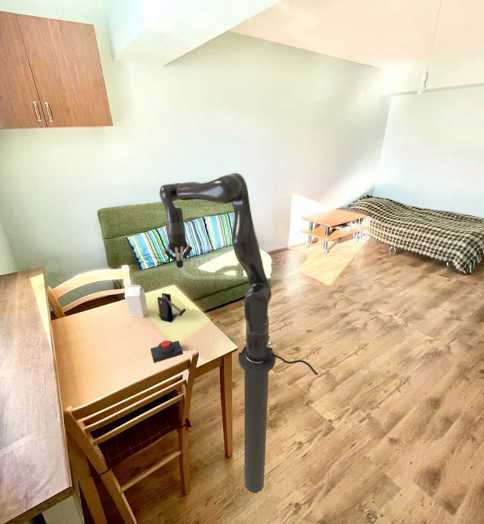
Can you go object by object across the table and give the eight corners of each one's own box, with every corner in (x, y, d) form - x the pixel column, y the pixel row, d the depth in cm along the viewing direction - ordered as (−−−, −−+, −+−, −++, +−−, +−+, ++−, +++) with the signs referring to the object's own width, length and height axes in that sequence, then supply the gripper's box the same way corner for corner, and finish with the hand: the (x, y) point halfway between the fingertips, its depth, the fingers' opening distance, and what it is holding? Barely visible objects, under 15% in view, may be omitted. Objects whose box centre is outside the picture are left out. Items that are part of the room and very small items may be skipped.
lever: (184, 312, 139) (186, 309, 138) (179, 317, 134) (181, 314, 133) (163, 296, 139) (165, 293, 138) (158, 301, 135) (160, 298, 134)
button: (169, 342, 117) (168, 339, 117) (171, 347, 114) (170, 344, 114) (160, 345, 116) (160, 341, 115) (162, 350, 113) (162, 347, 112)
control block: (178, 344, 122) (178, 337, 120) (183, 354, 116) (182, 346, 114) (150, 352, 117) (149, 345, 116) (153, 363, 111) (152, 355, 110)
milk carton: (144, 320, 139) (137, 288, 130) (130, 320, 139) (122, 289, 130) (148, 311, 145) (142, 281, 136) (134, 312, 145) (127, 281, 136)
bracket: (179, 315, 143) (177, 293, 138) (171, 324, 136) (168, 301, 131) (162, 312, 146) (159, 290, 141) (153, 320, 139) (150, 298, 134)
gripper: (162, 235, 115) (167, 273, 122) (193, 231, 120) (196, 267, 127) (159, 230, 121) (163, 267, 128) (188, 227, 126) (191, 262, 133)
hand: (180, 267), depth 127 cm, fingers closed
